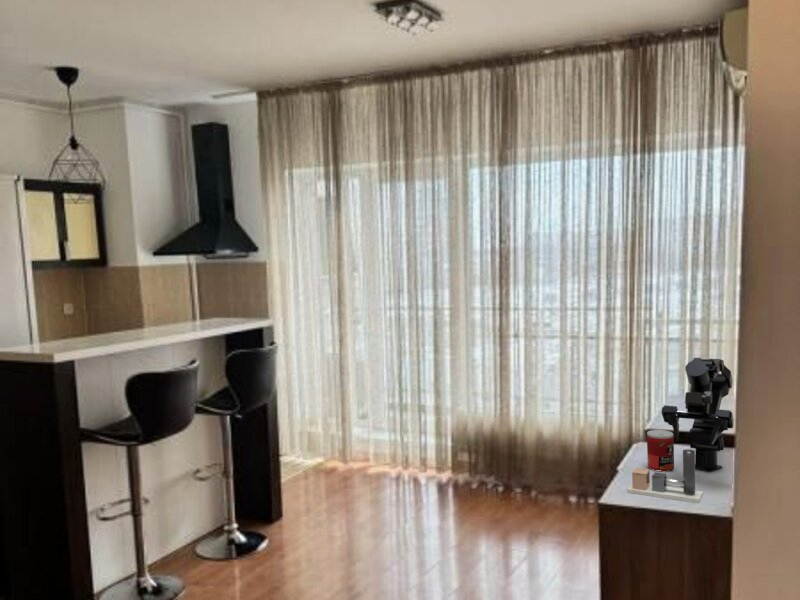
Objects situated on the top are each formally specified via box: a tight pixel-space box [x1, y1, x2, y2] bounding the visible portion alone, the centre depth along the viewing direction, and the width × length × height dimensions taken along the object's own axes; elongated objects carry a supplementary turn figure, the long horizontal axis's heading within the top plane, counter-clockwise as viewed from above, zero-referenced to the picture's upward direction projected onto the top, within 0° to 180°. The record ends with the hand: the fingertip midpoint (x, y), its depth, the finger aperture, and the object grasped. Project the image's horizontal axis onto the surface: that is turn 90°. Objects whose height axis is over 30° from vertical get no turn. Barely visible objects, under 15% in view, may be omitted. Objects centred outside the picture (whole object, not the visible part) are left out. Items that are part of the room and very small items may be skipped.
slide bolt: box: [664, 449, 696, 494], centre depth 195 cm, size 11×3×12 cm, turn 58°
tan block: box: [631, 467, 651, 490], centre depth 200 cm, size 4×4×5 cm
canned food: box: [646, 429, 675, 472], centre depth 218 cm, size 8×8×11 cm
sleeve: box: [651, 472, 668, 492], centre depth 198 cm, size 3×3×4 cm
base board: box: [626, 483, 704, 504], centre depth 197 cm, size 19×6×1 cm, turn 58°
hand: (693, 442), depth 199 cm, fingers open, 9 cm apart
